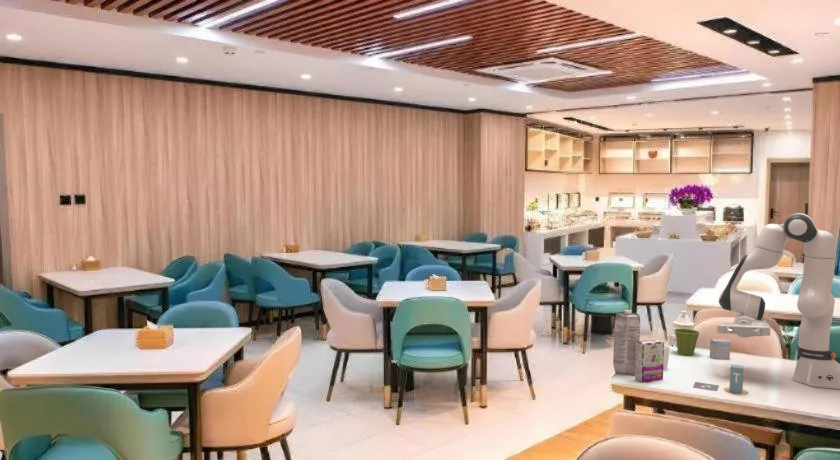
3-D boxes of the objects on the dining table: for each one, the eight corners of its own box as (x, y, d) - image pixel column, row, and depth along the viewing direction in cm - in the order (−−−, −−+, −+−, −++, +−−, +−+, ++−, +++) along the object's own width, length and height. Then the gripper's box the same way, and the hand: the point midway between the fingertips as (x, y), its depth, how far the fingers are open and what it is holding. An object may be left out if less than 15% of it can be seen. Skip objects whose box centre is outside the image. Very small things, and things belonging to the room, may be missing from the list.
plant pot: (697, 358, 310) (698, 334, 309) (671, 354, 316) (672, 331, 315) (700, 352, 320) (701, 330, 320) (675, 349, 326) (676, 327, 325)
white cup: (650, 370, 288) (651, 347, 287) (649, 365, 296) (649, 343, 295) (669, 371, 286) (670, 349, 286) (667, 366, 294) (668, 345, 293)
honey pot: (695, 349, 327) (697, 314, 326) (668, 346, 332) (670, 311, 331) (695, 343, 339) (696, 309, 338) (668, 341, 344) (670, 307, 343)
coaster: (749, 390, 261) (749, 389, 261) (748, 396, 253) (748, 395, 253) (724, 386, 265) (724, 386, 265) (722, 392, 257) (722, 391, 257)
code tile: (719, 386, 266) (719, 385, 266) (717, 392, 258) (717, 391, 258) (695, 382, 270) (695, 381, 270) (692, 388, 262) (692, 387, 262)
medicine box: (726, 357, 313) (727, 339, 312) (729, 359, 308) (730, 341, 308) (709, 356, 314) (710, 338, 313) (712, 359, 309) (713, 341, 308)
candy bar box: (654, 376, 277) (656, 339, 276) (663, 380, 273) (665, 341, 272) (633, 379, 273) (635, 340, 272) (642, 382, 269) (643, 343, 268)
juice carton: (638, 376, 278) (640, 313, 276) (612, 373, 281) (614, 311, 279) (638, 370, 286) (640, 310, 284) (613, 368, 290) (615, 308, 288)
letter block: (742, 390, 259) (743, 365, 259) (741, 393, 255) (743, 368, 255) (730, 388, 262) (731, 364, 261) (729, 391, 257) (730, 366, 257)
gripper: (717, 318, 286) (714, 323, 274) (770, 320, 276) (769, 325, 264) (717, 332, 286) (715, 338, 274) (770, 335, 277) (770, 341, 264)
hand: (742, 332), depth 269 cm, fingers open, 8 cm apart
